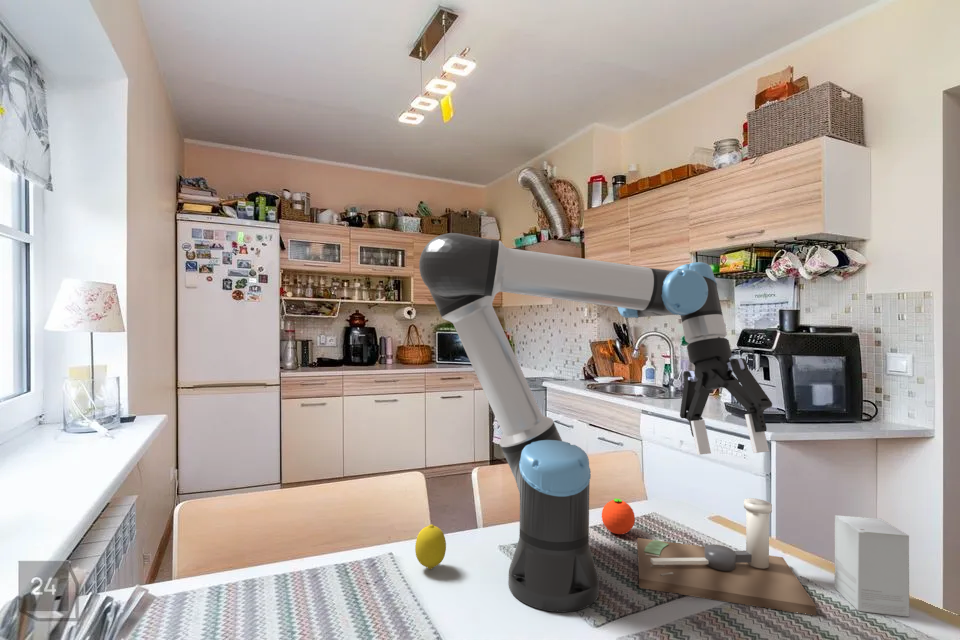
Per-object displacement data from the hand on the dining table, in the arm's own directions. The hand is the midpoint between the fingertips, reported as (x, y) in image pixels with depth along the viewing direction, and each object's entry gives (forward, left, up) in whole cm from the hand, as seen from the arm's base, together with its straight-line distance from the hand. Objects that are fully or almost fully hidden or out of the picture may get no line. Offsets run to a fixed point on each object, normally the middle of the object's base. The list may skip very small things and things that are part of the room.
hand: (730, 453), depth 90 cm
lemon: (-52, -17, -22) cm, 59 cm away
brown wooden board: (-3, -3, -21) cm, 22 cm away
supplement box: (+20, -4, -22) cm, 30 cm away
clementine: (-20, +11, -22) cm, 31 cm away
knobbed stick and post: (-4, -3, -20) cm, 20 cm away
